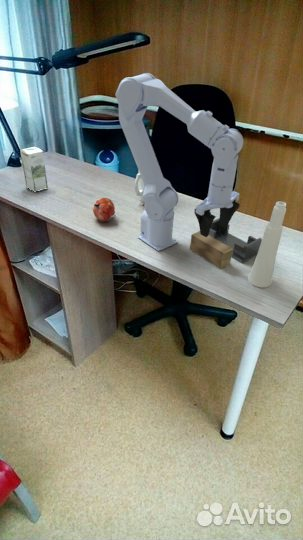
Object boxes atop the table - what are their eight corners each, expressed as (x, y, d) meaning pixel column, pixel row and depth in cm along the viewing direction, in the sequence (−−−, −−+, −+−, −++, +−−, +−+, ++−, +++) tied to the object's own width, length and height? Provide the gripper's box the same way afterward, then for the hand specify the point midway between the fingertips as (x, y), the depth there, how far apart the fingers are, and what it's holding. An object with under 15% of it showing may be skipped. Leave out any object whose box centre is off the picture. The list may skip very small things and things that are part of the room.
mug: (146, 193, 132) (147, 161, 124) (160, 199, 128) (162, 166, 121) (127, 201, 125) (127, 169, 118) (142, 208, 122) (142, 174, 115)
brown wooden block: (189, 249, 102) (191, 234, 99) (198, 245, 104) (200, 230, 101) (221, 269, 95) (224, 253, 92) (229, 264, 97) (233, 249, 94)
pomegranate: (105, 218, 120) (82, 207, 113) (117, 201, 118) (95, 188, 111) (114, 230, 115) (90, 219, 108) (127, 212, 113) (104, 200, 106)
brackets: (200, 239, 107) (202, 224, 104) (218, 230, 111) (221, 216, 108) (241, 263, 98) (245, 248, 95) (259, 253, 102) (263, 238, 99)
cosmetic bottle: (275, 279, 92) (299, 202, 79) (265, 291, 88) (289, 212, 75) (253, 270, 95) (273, 195, 82) (243, 281, 91) (263, 203, 78)
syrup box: (40, 184, 135) (33, 145, 126) (48, 189, 131) (43, 150, 123) (26, 188, 131) (19, 149, 122) (35, 193, 128) (28, 153, 119)
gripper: (214, 196, 80) (206, 246, 88) (252, 181, 88) (242, 228, 96) (192, 185, 84) (186, 234, 93) (230, 172, 92) (222, 218, 100)
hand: (213, 230), depth 95 cm, fingers open, 7 cm apart
